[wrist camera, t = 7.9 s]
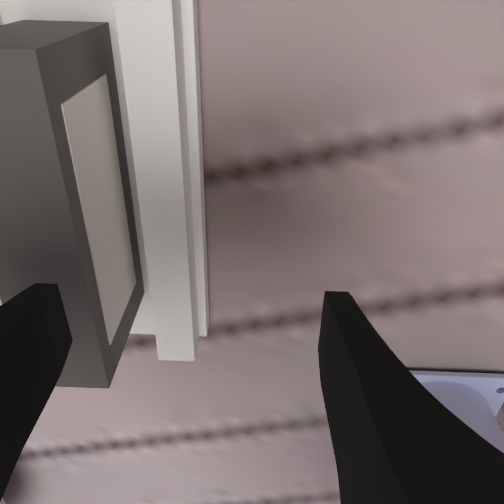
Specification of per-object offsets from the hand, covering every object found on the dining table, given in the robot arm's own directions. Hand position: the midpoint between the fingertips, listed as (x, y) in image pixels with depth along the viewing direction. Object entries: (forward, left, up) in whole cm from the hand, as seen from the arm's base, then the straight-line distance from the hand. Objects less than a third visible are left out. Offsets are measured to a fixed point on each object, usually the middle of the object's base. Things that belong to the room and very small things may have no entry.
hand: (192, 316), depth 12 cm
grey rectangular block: (0, +5, -8) cm, 10 cm away
